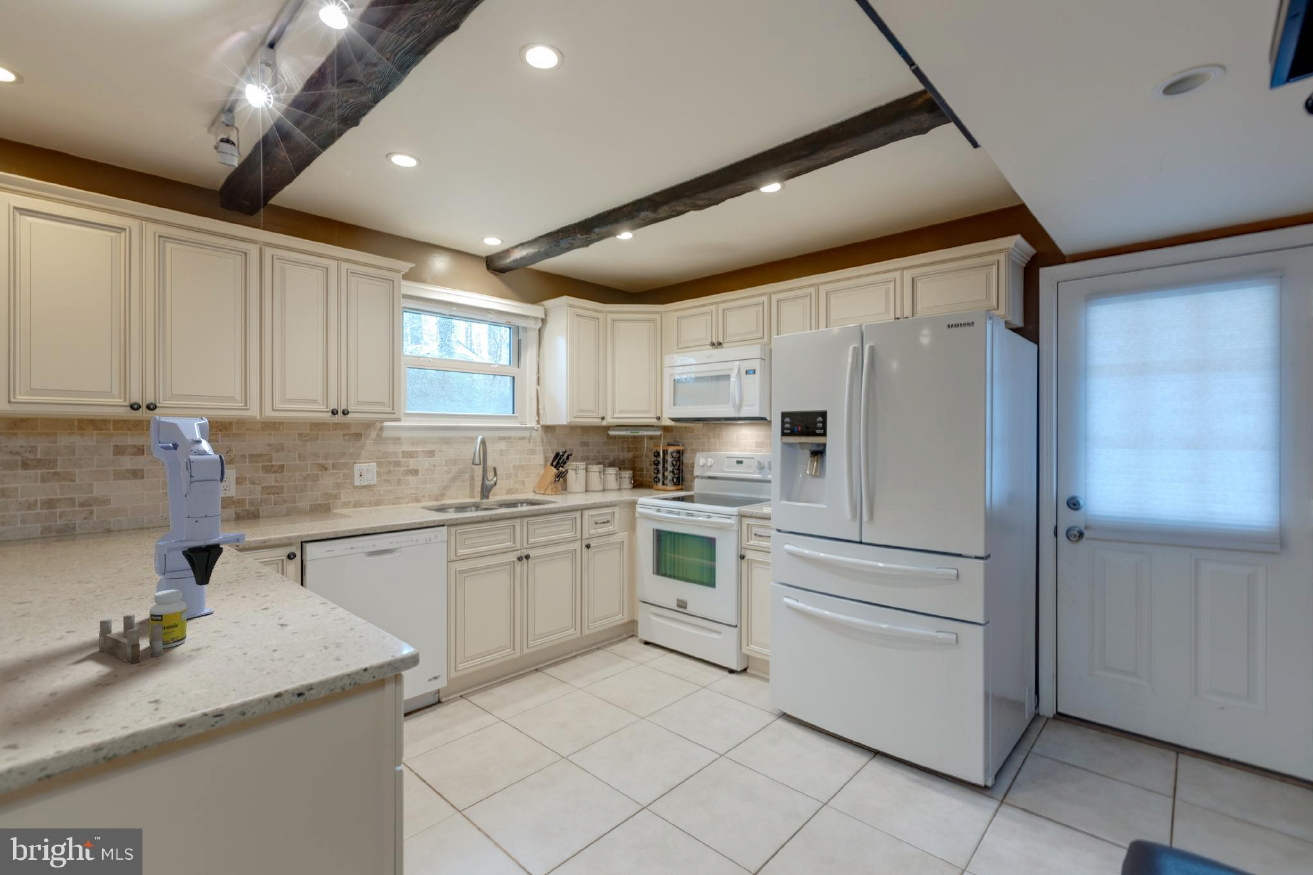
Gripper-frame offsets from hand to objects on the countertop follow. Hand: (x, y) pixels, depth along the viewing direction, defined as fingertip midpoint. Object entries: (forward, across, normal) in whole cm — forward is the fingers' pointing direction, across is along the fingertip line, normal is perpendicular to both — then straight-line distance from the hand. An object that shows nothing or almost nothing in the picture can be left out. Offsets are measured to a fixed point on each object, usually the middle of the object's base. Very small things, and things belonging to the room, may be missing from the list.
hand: (202, 584), depth 117 cm
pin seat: (+10, -11, 0) cm, 15 cm away
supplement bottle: (+10, -6, -1) cm, 12 cm away
